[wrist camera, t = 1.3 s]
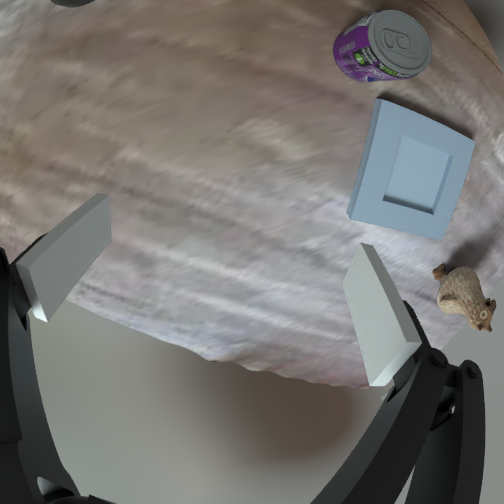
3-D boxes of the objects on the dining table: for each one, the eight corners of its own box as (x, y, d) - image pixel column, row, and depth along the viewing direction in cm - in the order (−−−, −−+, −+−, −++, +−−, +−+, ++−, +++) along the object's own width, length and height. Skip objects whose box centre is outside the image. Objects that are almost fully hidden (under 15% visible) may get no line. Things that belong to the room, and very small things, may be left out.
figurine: (472, 254, 38) (516, 308, 25) (451, 296, 43) (485, 353, 30) (438, 248, 38) (484, 309, 25) (417, 294, 43) (449, 359, 30)
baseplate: (375, 98, 28) (382, 99, 26) (466, 138, 28) (475, 142, 26) (346, 212, 36) (350, 219, 34) (434, 233, 37) (441, 240, 35)
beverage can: (336, 82, 27) (371, 77, 17) (326, 30, 24) (355, 1, 13) (389, 82, 26) (441, 83, 16) (381, 32, 23) (428, 12, 12)
